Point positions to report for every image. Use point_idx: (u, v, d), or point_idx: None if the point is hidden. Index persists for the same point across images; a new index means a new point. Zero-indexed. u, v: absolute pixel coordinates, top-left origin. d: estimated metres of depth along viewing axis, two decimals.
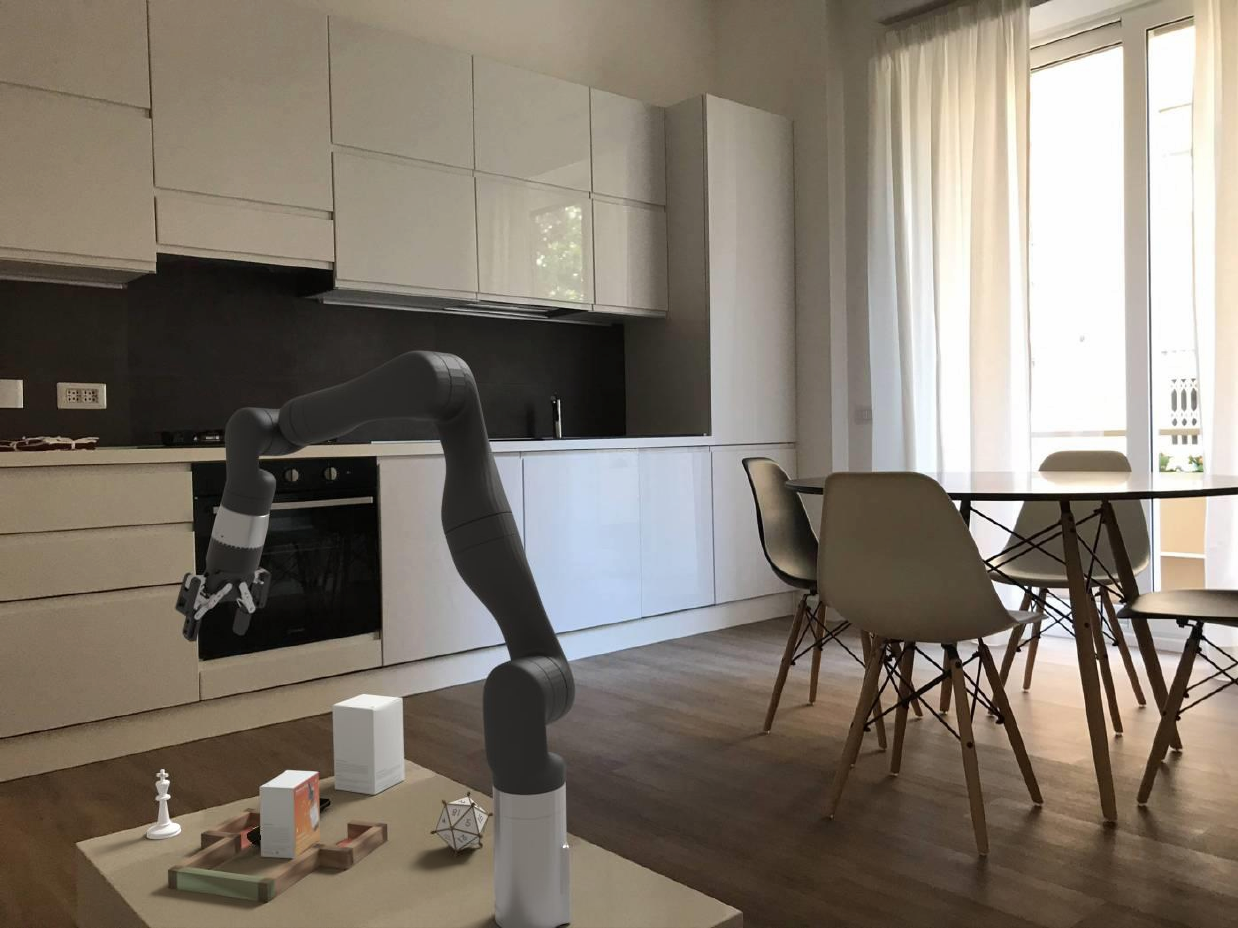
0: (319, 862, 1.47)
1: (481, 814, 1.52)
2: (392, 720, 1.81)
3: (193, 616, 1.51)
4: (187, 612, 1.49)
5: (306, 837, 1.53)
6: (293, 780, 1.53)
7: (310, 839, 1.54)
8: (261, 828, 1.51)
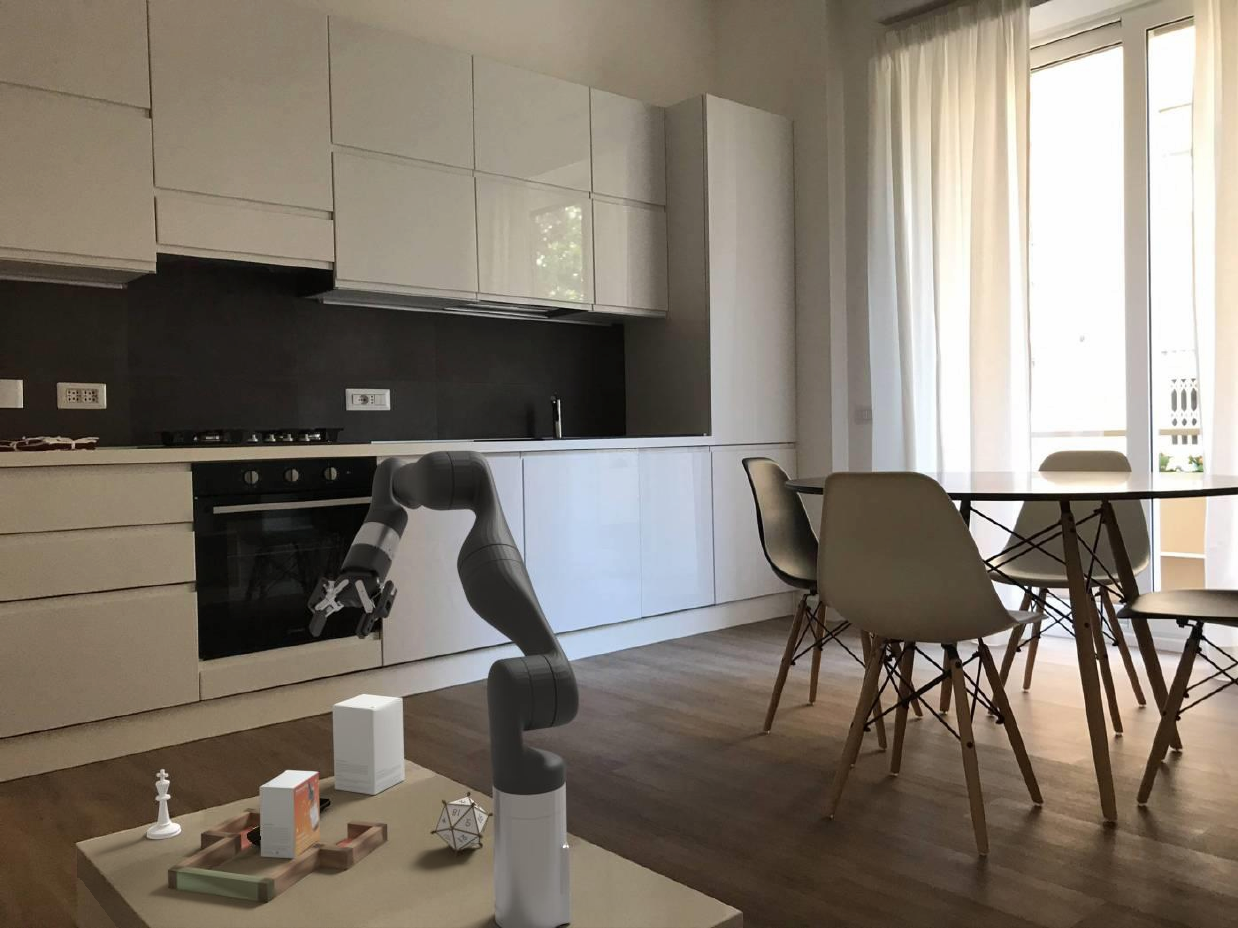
0: (319, 862, 1.47)
1: (481, 814, 1.52)
2: (392, 720, 1.81)
3: (316, 608, 1.70)
4: (309, 602, 1.71)
5: (306, 837, 1.53)
6: (293, 780, 1.53)
7: (310, 839, 1.54)
8: (261, 828, 1.51)
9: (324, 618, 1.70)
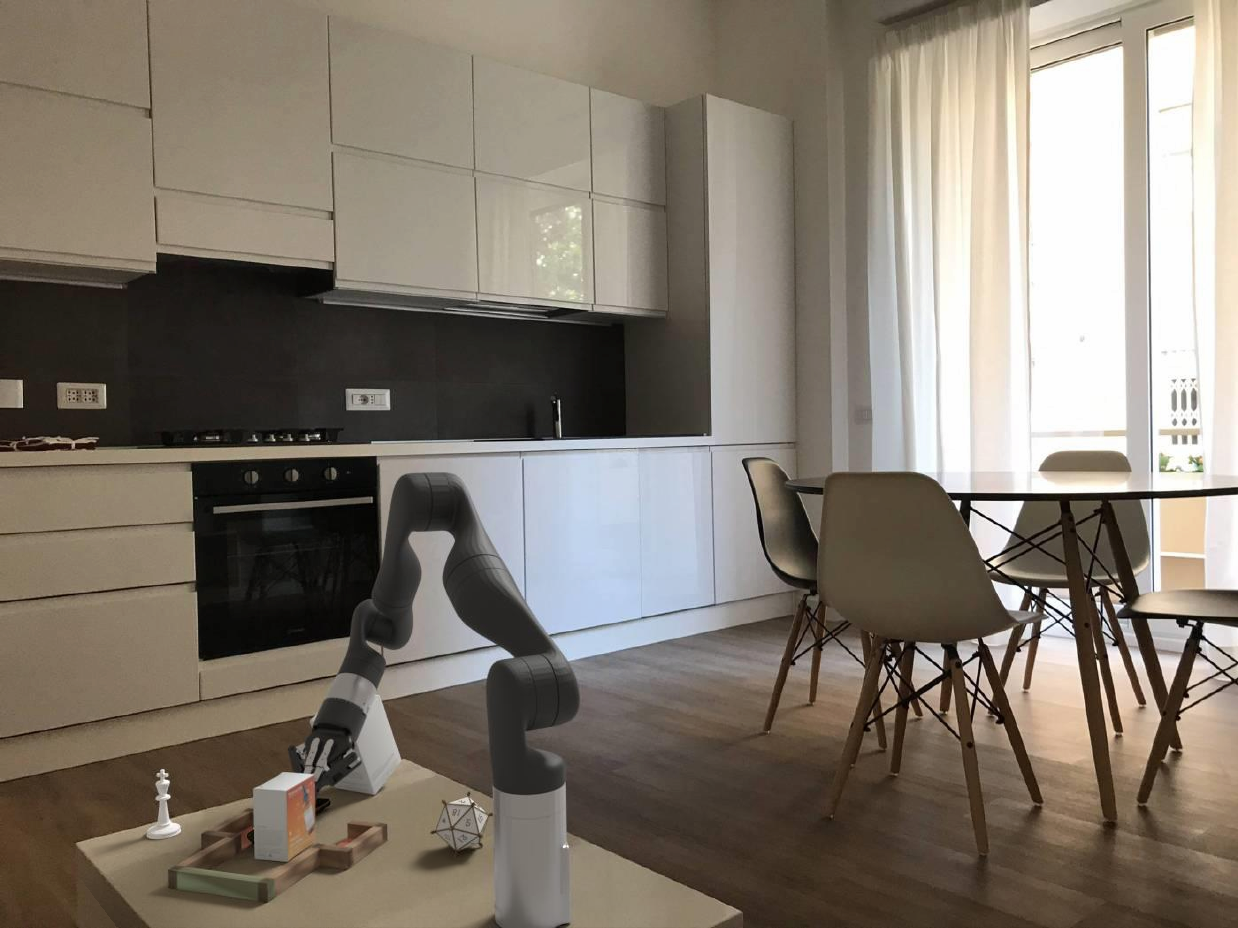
0: (319, 862, 1.47)
1: (481, 814, 1.52)
2: (374, 722, 1.75)
3: None
4: (295, 771, 1.61)
5: (300, 840, 1.52)
6: (287, 783, 1.51)
7: (305, 842, 1.53)
8: (254, 830, 1.50)
9: None
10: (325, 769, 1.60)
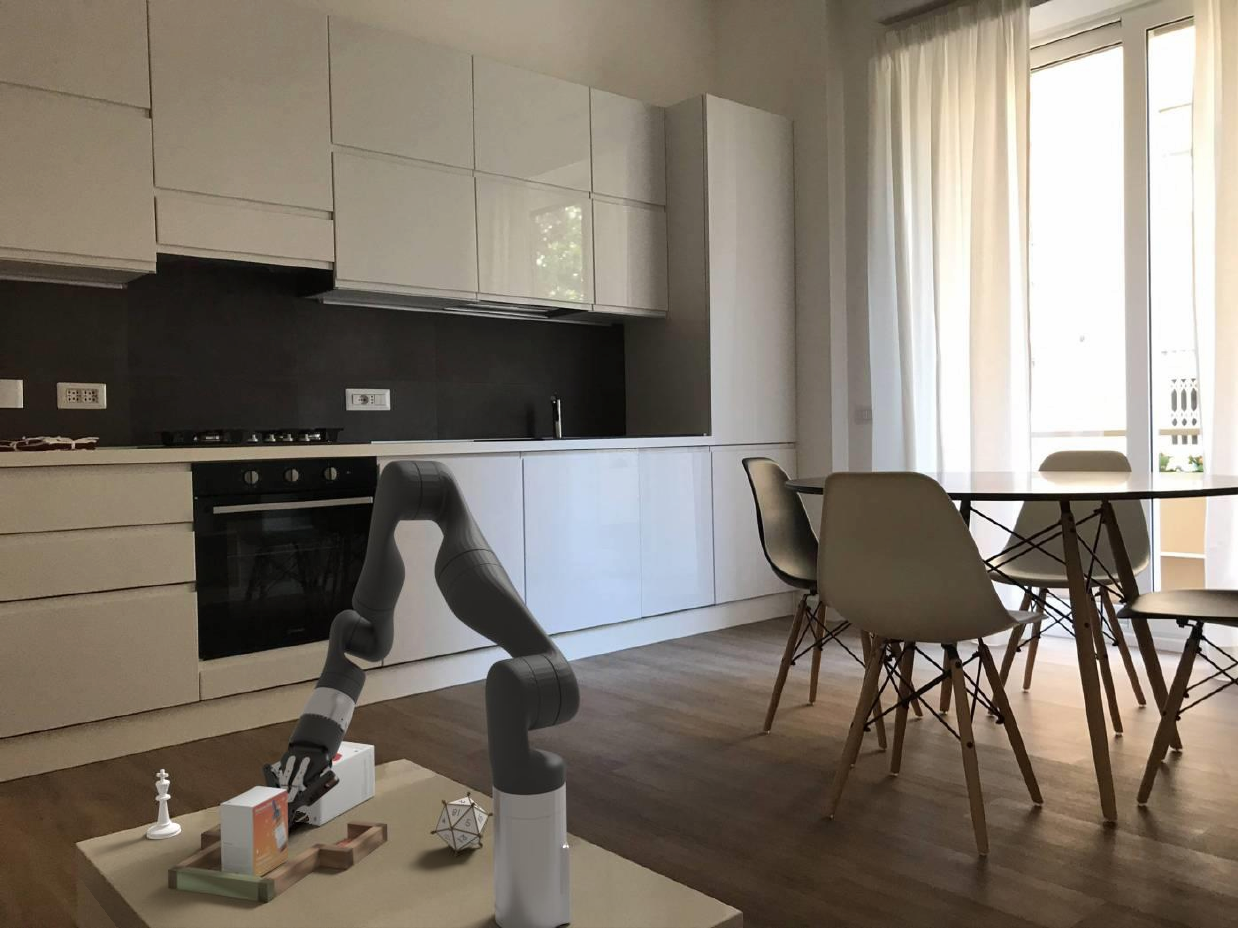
0: (319, 862, 1.47)
1: (481, 814, 1.52)
2: None
3: None
4: None
5: (269, 858, 1.45)
6: (256, 798, 1.45)
7: (275, 860, 1.47)
8: (222, 847, 1.44)
9: None
10: (301, 789, 1.54)
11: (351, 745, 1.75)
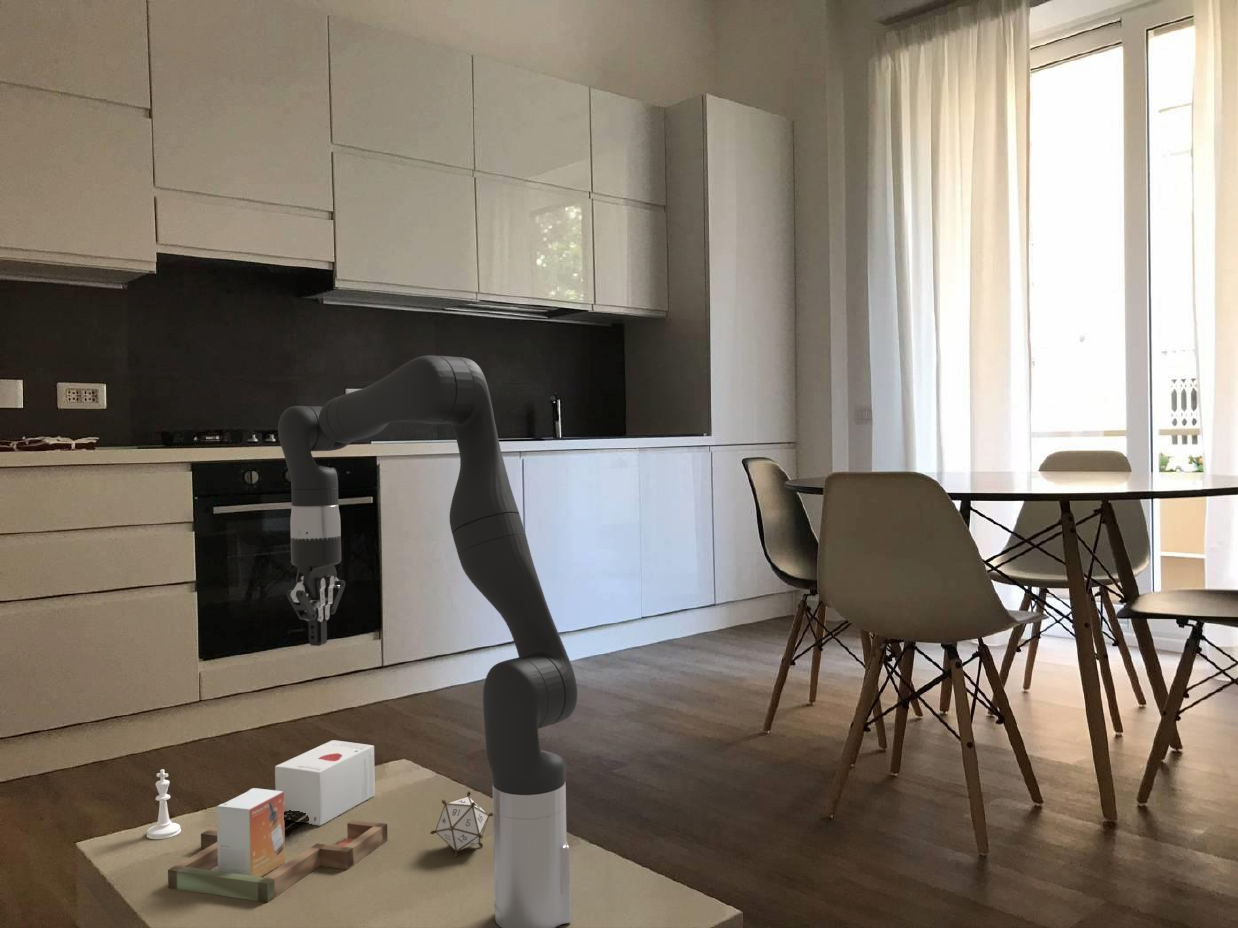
0: (319, 862, 1.47)
1: (481, 814, 1.52)
2: (332, 786, 1.65)
3: (317, 619, 1.59)
4: (313, 616, 1.58)
5: (266, 861, 1.45)
6: (253, 800, 1.44)
7: (272, 863, 1.46)
8: (218, 850, 1.43)
9: None
10: None
11: (351, 745, 1.75)
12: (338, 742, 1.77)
